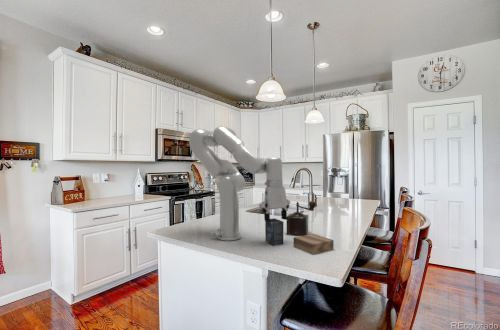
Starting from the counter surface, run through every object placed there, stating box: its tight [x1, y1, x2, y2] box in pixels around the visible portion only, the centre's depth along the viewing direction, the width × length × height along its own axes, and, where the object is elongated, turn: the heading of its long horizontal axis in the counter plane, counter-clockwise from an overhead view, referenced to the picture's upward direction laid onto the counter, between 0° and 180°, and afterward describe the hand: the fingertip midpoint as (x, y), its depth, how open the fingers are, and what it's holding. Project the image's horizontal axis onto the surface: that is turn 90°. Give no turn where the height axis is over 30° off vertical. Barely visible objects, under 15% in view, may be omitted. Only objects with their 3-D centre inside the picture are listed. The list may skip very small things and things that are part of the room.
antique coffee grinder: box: [286, 200, 317, 237], centre depth 133 cm, size 16×11×18 cm
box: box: [264, 217, 284, 247], centre depth 118 cm, size 8×6×11 cm
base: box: [293, 233, 335, 256], centre depth 110 cm, size 12×12×4 cm
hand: (275, 220), depth 118 cm, fingers open, 9 cm apart
